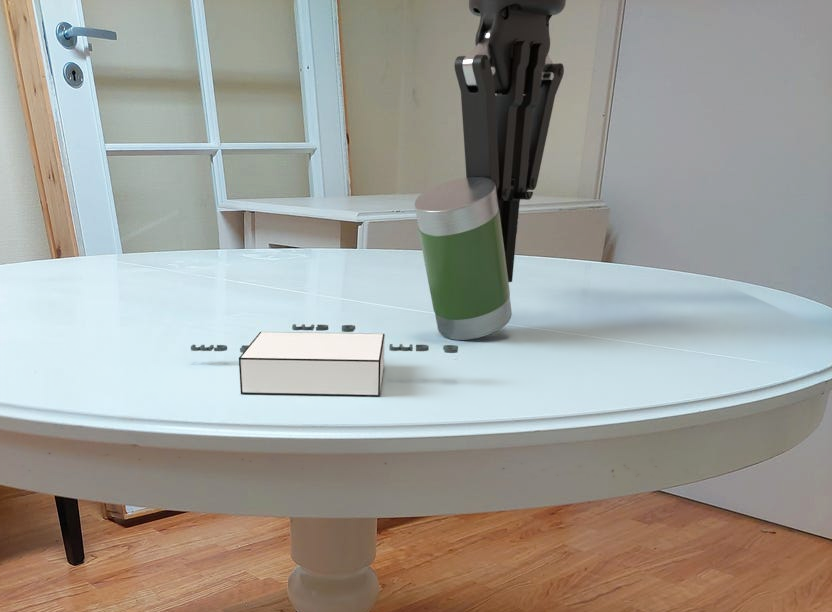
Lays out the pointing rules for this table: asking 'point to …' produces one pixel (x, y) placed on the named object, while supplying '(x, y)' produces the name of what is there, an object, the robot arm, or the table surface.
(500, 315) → the can
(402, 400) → the table surface
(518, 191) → the robot arm
